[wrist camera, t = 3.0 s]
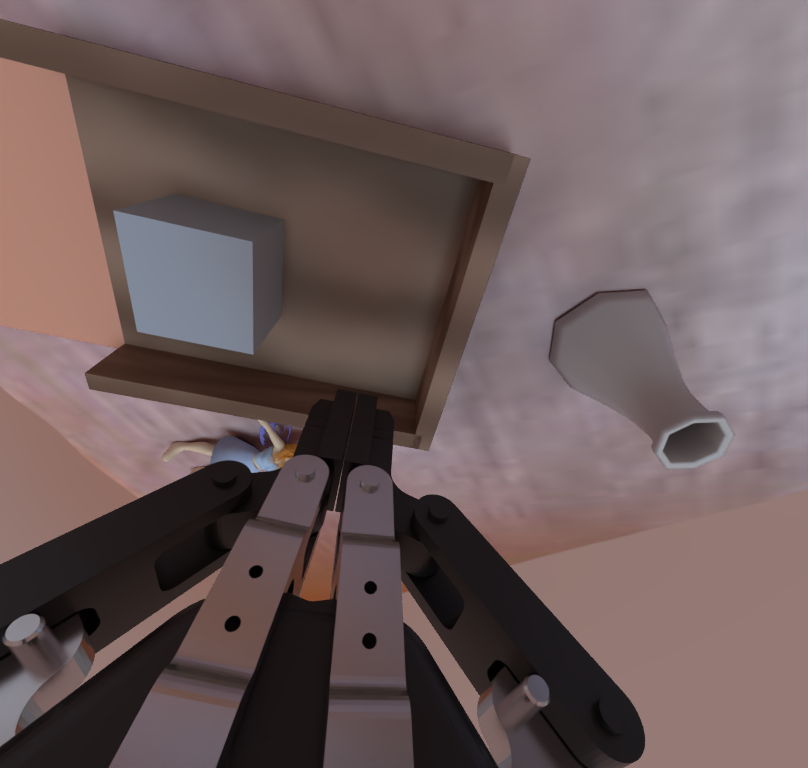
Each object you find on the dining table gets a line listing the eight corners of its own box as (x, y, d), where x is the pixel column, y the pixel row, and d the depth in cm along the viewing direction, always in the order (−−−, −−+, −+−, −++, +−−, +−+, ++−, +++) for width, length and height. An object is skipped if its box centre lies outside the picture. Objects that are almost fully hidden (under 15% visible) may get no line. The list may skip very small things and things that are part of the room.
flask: (558, 397, 28) (617, 512, 20) (537, 312, 24) (598, 408, 16) (665, 366, 26) (780, 477, 18) (660, 269, 22) (801, 352, 14)
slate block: (174, 193, 21) (113, 210, 17) (284, 219, 21) (252, 242, 17) (185, 296, 24) (137, 331, 20) (281, 316, 25) (253, 354, 20)
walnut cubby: (59, 34, 17) (-26, 12, 14) (511, 153, 19) (530, 158, 16) (130, 356, 27) (89, 388, 24) (427, 413, 29) (428, 450, 26)
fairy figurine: (113, 435, 27) (256, 415, 24) (157, 394, 31) (287, 372, 27) (203, 532, 33) (327, 526, 30) (231, 488, 37) (343, 479, 34)
